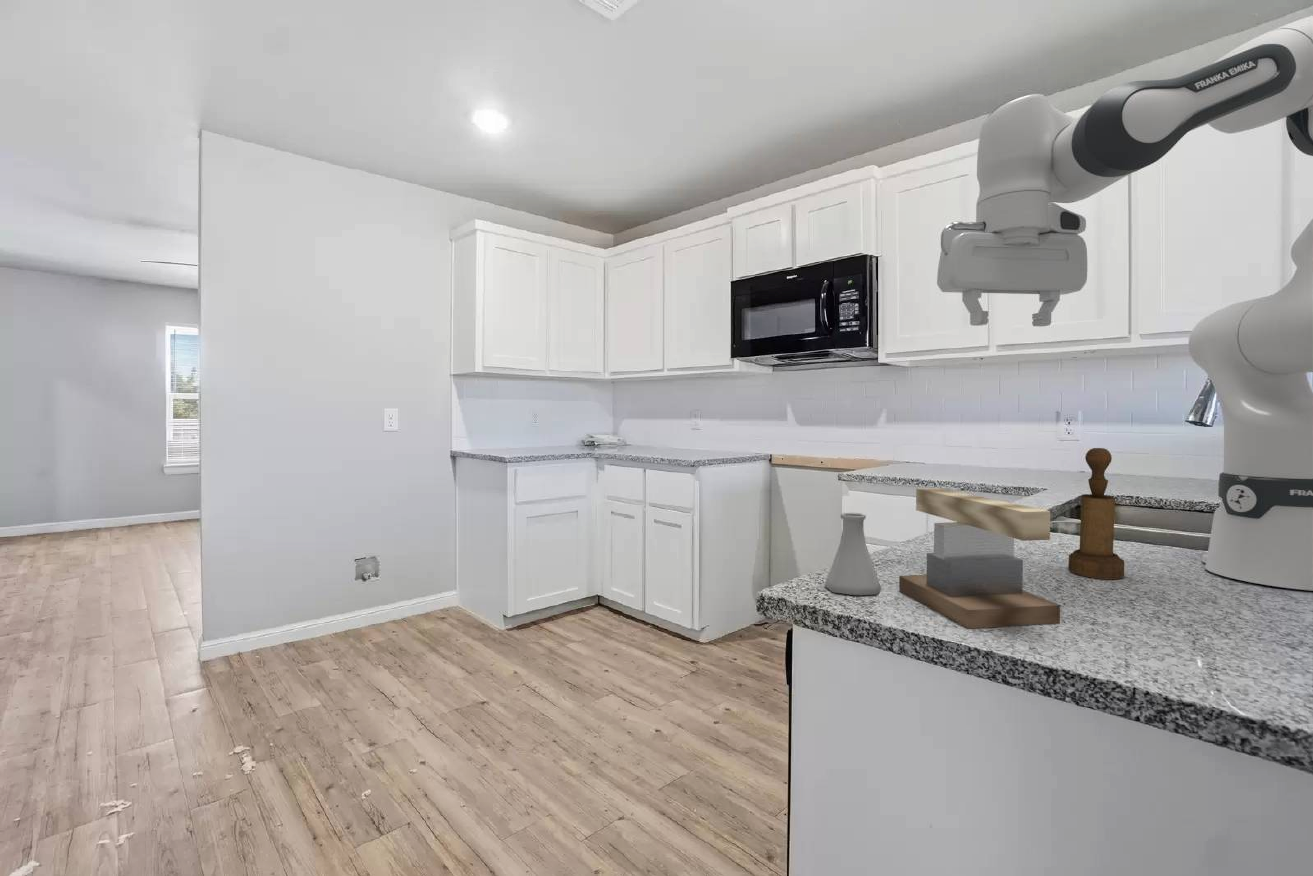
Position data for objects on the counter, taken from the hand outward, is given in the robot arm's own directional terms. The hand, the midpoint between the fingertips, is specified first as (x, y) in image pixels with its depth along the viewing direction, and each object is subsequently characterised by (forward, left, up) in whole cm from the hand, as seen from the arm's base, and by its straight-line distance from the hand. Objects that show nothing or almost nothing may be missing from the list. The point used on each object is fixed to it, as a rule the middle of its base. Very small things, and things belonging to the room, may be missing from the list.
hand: (1010, 325), depth 84 cm
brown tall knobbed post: (-14, 0, -35) cm, 38 cm away
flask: (+23, +1, -35) cm, 42 cm away
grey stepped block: (+13, +10, -33) cm, 37 cm away
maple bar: (+12, +10, -25) cm, 30 cm away
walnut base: (+12, +10, -35) cm, 39 cm away
